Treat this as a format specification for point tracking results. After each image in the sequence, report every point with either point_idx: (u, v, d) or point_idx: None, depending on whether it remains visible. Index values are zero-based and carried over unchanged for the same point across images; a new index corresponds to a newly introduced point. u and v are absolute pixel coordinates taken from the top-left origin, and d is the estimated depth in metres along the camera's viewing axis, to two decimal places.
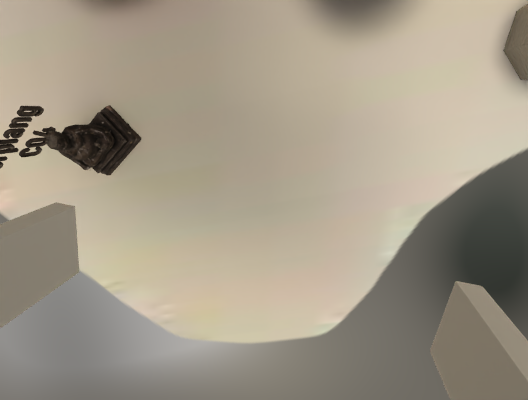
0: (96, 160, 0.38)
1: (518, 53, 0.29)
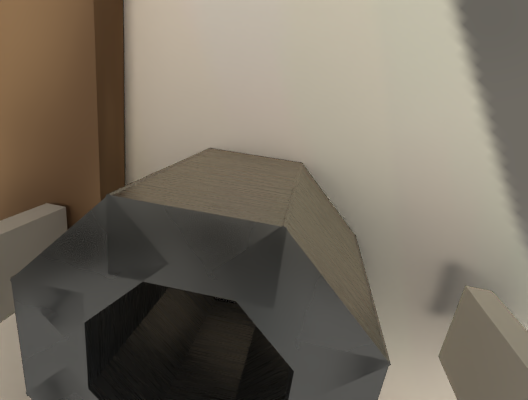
0: None
1: None
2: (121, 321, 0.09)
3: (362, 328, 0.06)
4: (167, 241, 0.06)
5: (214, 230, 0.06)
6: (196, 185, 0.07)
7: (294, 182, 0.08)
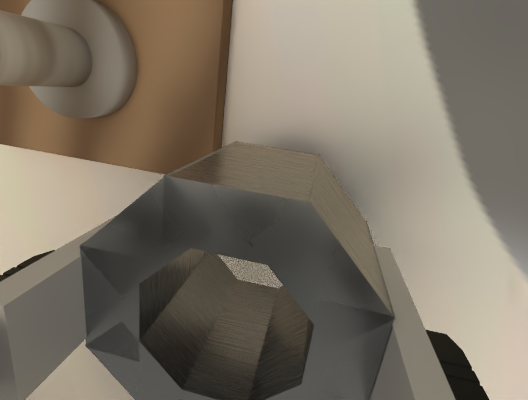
0: None
1: None
2: (163, 288, 0.10)
3: (372, 288, 0.07)
4: (213, 214, 0.07)
5: (252, 205, 0.07)
6: (233, 170, 0.09)
7: (314, 170, 0.10)
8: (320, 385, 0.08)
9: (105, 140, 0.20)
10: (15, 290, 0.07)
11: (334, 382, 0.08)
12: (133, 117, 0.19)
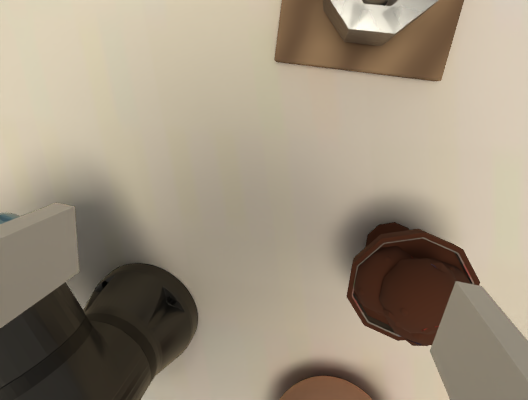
0: None
1: None
2: None
3: None
4: None
5: None
6: None
7: None
8: None
9: (368, 54, 0.31)
10: None
11: None
12: (393, 37, 0.30)
